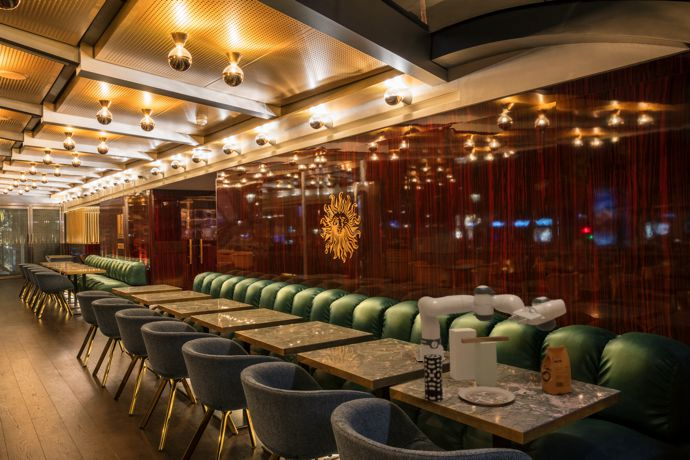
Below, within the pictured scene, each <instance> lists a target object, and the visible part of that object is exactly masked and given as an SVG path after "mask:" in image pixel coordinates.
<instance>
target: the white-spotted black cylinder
mask: <svg viewBox="0 0 690 460" xmlns="http://www.w3.org/2000/svg"><path fill="white" fill-rule="evenodd" d="M423 368H424V369H423V372H424V373H423V374H424V375H423V376H424V380H423V381H424V400H425V401H428V402H434V403H437V402H442V401H443V400H444V388H443V387H444V386H443V383H444V382H443V362H442V356H441V355H437V354H428V355H424V362H423Z"/></svg>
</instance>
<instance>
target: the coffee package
mask: <svg viewBox="0 0 690 460" xmlns="http://www.w3.org/2000/svg"><path fill="white" fill-rule="evenodd" d="M545 350H546V353H545V357H544V359H543V360H542V364H541V367H540V368H541V369H540V370H541V389H542V391H543V392H546V393H547V394H549V395H553V396H555V395H558V394H561V395H565V394H568V393H571V392H572V375H571V374H572V372H571V371H572V370H571V359H570V357H569V354H568V352H567V348H566V346H565V345H564V344H562V345H560V346H559V345H558V346H557V347H556V346H545Z"/></svg>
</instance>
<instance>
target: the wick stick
mask: <svg viewBox="0 0 690 460" xmlns="http://www.w3.org/2000/svg"><path fill="white" fill-rule="evenodd" d="M507 341H510V336H509V335H498V336H497V335H495V336H484V337H483V336H482V337H479V336H478V337H476V338H462V339H461V343H479V342H507Z"/></svg>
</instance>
